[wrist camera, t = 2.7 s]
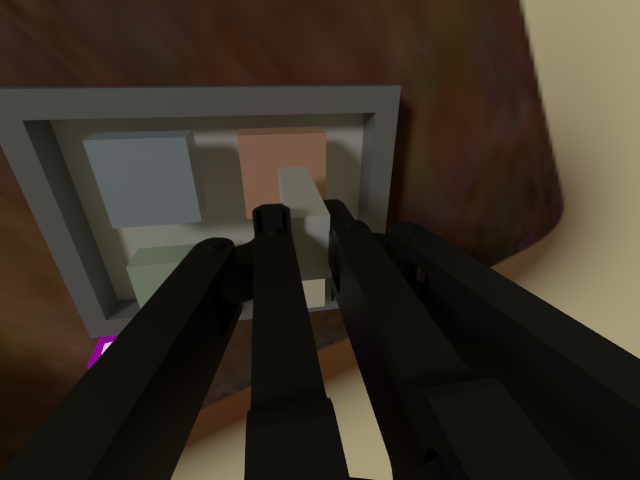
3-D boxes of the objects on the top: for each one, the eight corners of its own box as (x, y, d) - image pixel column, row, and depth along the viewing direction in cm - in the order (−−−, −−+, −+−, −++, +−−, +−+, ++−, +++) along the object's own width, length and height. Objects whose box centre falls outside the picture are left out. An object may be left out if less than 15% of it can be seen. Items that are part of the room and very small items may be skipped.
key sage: (155, 305, 25) (146, 327, 23) (138, 248, 23) (125, 267, 21) (223, 297, 26) (220, 318, 24) (213, 242, 24) (209, 259, 21)
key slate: (127, 212, 21) (112, 228, 19) (102, 132, 19) (82, 140, 17) (207, 207, 22) (201, 222, 20) (192, 130, 20) (185, 137, 18)
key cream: (258, 294, 26) (258, 314, 24) (251, 239, 24) (251, 255, 22) (319, 287, 27) (324, 306, 25) (319, 233, 25) (325, 249, 23)
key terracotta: (247, 204, 23) (246, 218, 20) (238, 128, 20) (236, 135, 18) (319, 200, 23) (325, 213, 21) (319, 126, 21) (326, 132, 19)
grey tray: (106, 313, 28) (90, 338, 25) (12, 86, 19) (-26, 89, 17) (367, 284, 32) (377, 303, 29) (384, 84, 23) (401, 85, 21)
